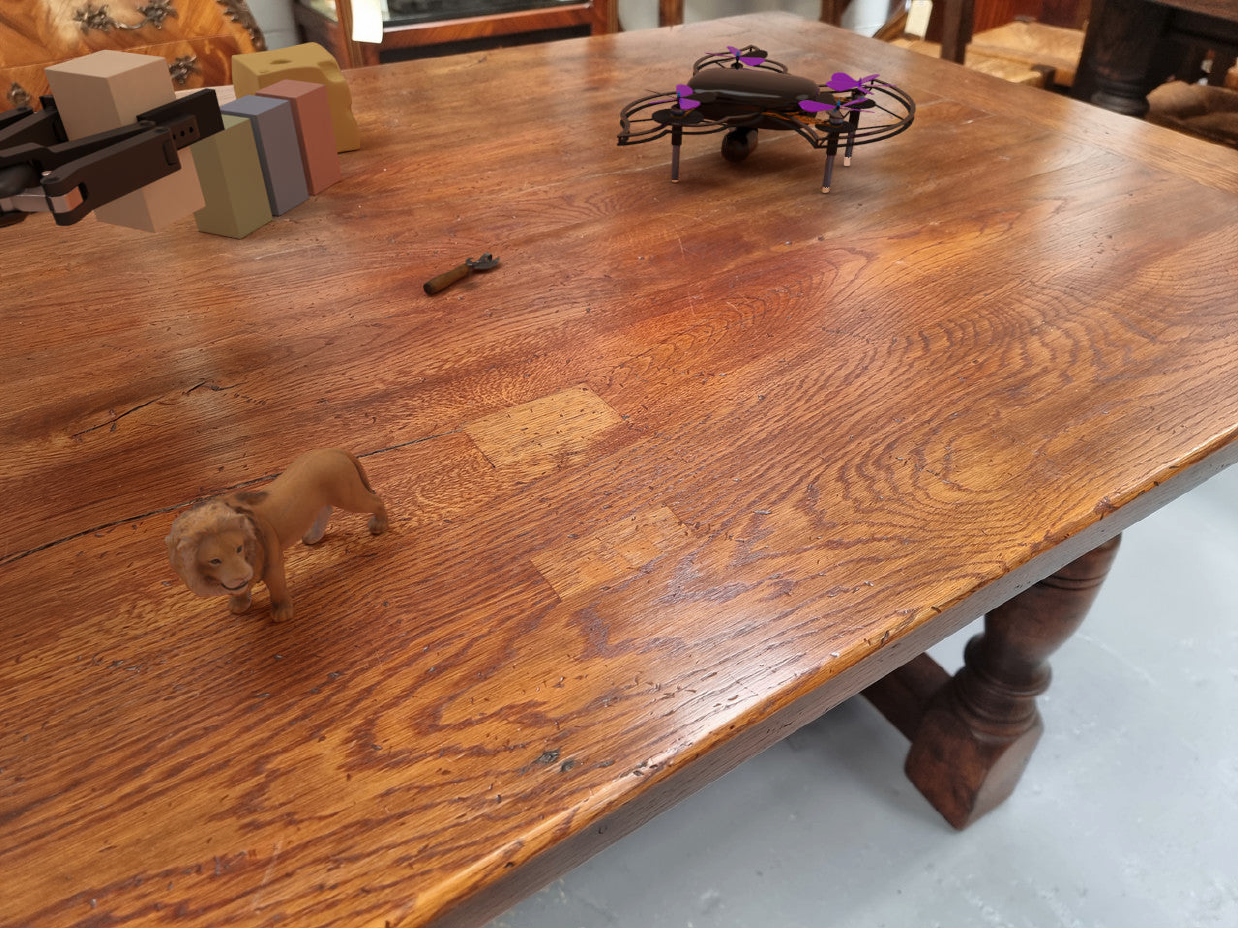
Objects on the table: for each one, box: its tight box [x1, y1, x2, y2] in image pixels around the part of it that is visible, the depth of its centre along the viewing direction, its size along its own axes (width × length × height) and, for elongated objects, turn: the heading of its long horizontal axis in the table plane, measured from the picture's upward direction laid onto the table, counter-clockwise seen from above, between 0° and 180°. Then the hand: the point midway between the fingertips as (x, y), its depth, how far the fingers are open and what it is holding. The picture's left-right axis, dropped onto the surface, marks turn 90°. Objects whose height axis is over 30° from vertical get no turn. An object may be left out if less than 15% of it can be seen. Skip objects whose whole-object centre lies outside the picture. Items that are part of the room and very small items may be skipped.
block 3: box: [219, 95, 310, 217], centre depth 93 cm, size 5×5×10 cm
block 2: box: [190, 114, 274, 240], centre depth 88 cm, size 5×5×10 cm
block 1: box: [43, 49, 206, 234], centre depth 61 cm, size 5×5×10 cm
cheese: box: [231, 41, 361, 153], centre depth 107 cm, size 10×11×10 cm
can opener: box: [422, 251, 501, 295], centre depth 82 cm, size 9×2×1 cm, turn 140°
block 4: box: [255, 79, 343, 196], centre depth 97 cm, size 5×5×10 cm
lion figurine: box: [164, 447, 390, 623], centre depth 50 cm, size 15×5×9 cm, turn 161°
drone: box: [616, 44, 917, 188], centre depth 102 cm, size 40×10×28 cm
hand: (181, 104), depth 65 cm, fingers closed on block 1, 5 cm apart
